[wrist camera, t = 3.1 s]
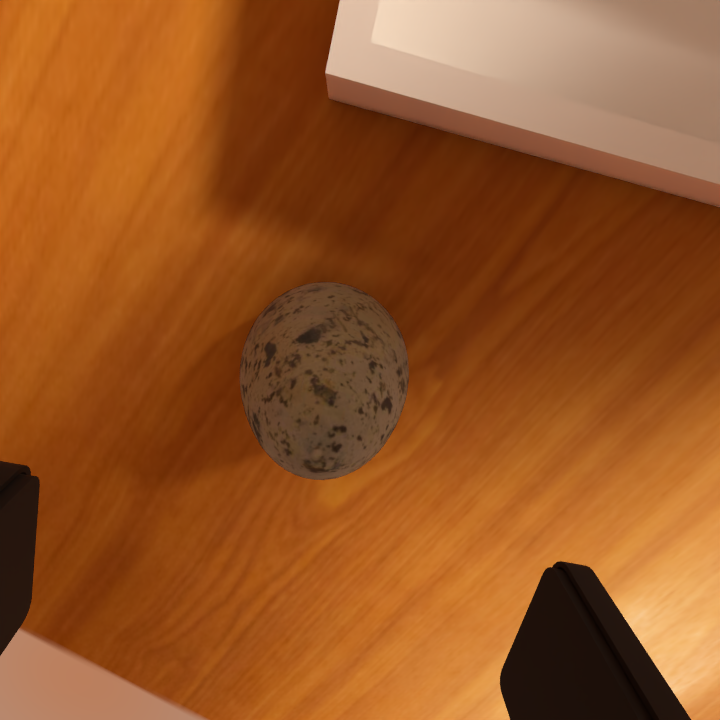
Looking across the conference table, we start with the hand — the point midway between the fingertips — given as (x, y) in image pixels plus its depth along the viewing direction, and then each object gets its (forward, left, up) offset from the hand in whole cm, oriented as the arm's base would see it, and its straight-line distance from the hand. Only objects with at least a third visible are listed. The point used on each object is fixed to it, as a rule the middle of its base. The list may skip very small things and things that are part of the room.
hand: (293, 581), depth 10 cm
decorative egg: (0, 0, -15) cm, 15 cm away
